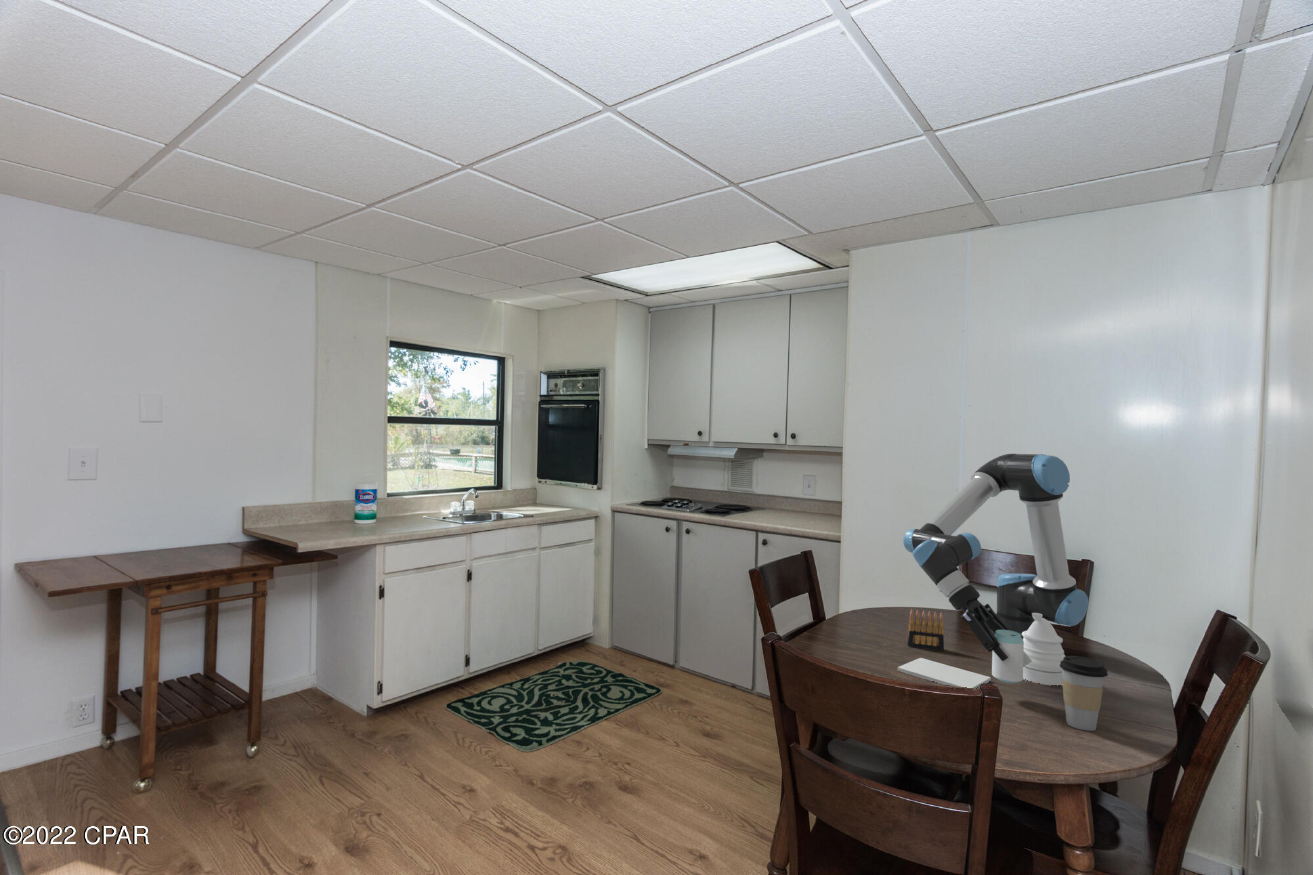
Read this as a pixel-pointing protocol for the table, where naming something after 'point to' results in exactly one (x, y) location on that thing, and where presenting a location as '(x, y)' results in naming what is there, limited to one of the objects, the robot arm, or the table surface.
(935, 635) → the ammunition clip
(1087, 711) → the coffee cup
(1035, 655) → the honey pot
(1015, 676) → the can
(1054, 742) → the table surface
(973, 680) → the mat
